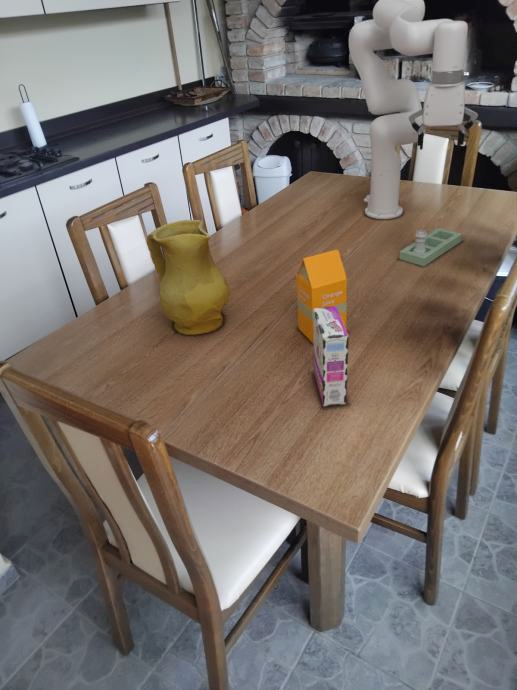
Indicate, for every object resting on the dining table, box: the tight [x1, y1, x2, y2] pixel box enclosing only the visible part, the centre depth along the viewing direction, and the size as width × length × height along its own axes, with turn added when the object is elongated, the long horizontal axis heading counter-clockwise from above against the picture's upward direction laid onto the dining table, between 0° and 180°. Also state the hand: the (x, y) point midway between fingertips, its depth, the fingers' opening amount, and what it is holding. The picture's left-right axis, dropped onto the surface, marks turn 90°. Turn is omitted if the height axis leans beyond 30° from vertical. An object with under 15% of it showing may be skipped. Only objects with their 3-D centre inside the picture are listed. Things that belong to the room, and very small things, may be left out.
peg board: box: [398, 227, 463, 267], centre depth 158 cm, size 8×21×2 cm, turn 135°
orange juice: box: [295, 248, 348, 345], centre depth 123 cm, size 8×9×20 cm
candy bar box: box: [313, 306, 350, 408], centre depth 106 cm, size 11×5×16 cm, turn 5°
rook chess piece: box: [412, 229, 428, 255], centre depth 153 cm, size 4×4×8 cm
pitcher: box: [146, 219, 231, 336], centre depth 130 cm, size 17×19×25 cm
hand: (439, 148), depth 146 cm, fingers open, 9 cm apart
